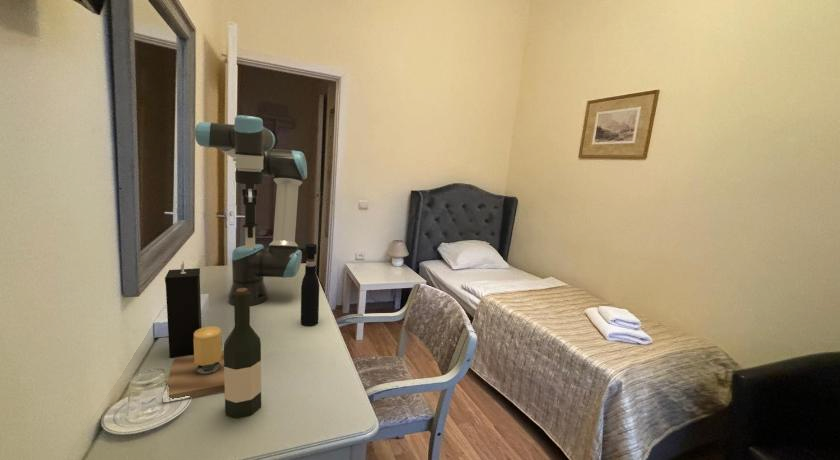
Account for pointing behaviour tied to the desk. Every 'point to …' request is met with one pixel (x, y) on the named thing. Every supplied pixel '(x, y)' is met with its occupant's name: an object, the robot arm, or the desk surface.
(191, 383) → the walnut board
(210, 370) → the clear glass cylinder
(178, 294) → the black pillar candle
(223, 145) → the robot arm
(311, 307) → the wine bottle
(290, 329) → the desk surface
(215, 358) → the ochre cap
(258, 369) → the labelled green bottle
